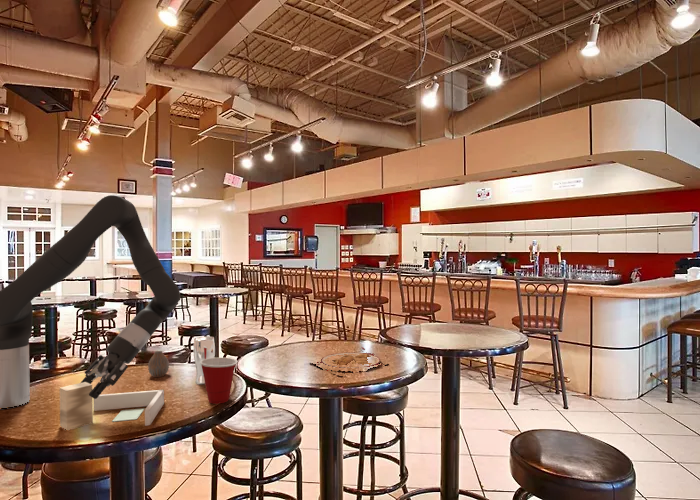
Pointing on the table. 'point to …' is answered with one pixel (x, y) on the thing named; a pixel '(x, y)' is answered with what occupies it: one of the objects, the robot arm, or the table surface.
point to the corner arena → (132, 404)
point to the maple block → (76, 406)
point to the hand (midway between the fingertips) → (85, 394)
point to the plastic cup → (218, 378)
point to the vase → (158, 364)
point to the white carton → (202, 354)
